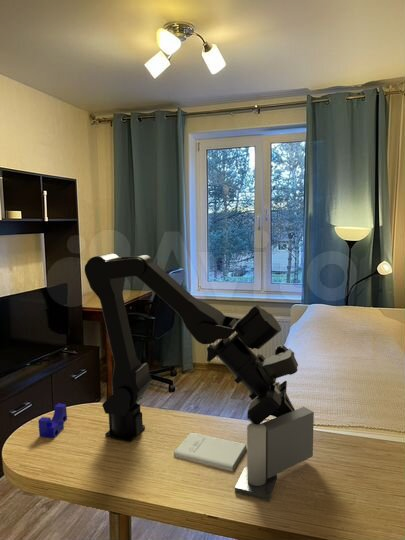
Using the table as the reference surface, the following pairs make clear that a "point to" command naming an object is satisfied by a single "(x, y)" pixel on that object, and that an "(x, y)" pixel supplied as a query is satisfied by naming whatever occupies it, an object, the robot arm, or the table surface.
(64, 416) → the cable holder
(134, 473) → the table surface
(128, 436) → the robot arm
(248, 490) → the arm mount
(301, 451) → the swing arm
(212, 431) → the table surface
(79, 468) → the table surface
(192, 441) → the external hard drive
